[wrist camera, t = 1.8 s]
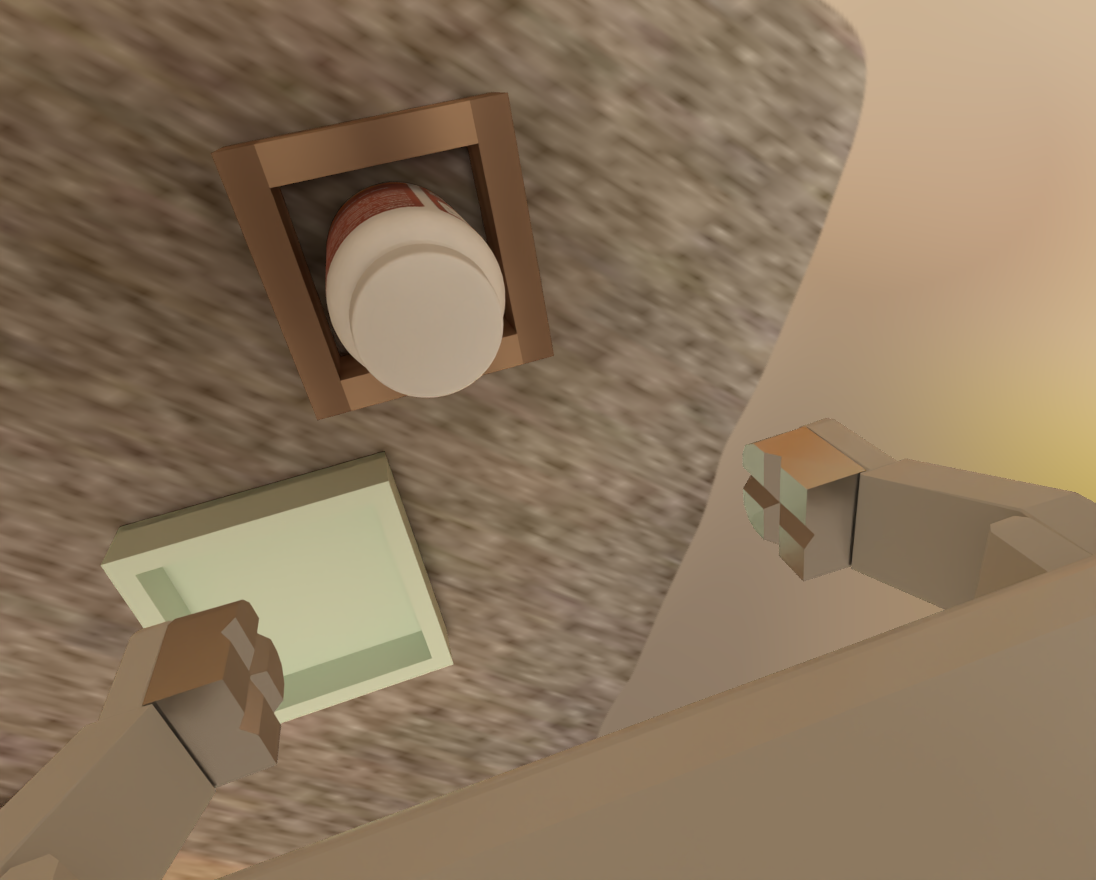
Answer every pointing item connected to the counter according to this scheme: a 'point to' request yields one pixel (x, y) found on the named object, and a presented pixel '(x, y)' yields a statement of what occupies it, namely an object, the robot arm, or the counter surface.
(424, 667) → the tray
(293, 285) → the collar
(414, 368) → the pill bottle
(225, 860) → the counter surface
